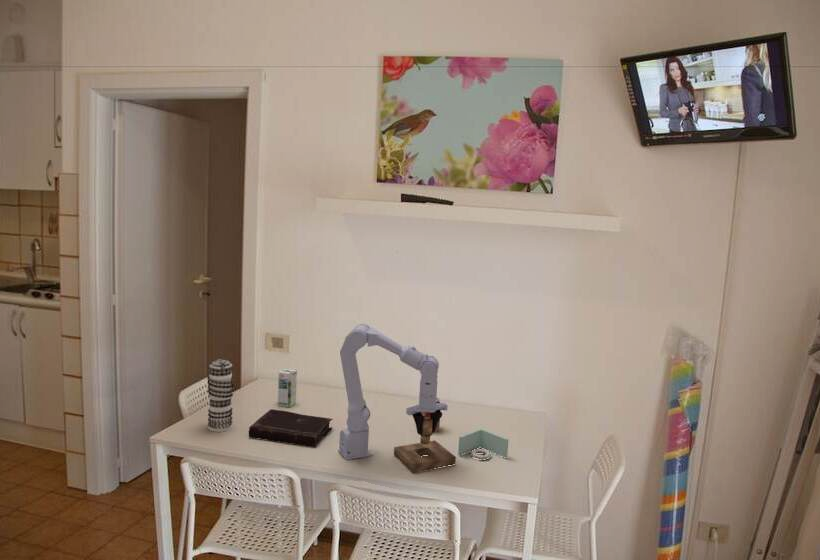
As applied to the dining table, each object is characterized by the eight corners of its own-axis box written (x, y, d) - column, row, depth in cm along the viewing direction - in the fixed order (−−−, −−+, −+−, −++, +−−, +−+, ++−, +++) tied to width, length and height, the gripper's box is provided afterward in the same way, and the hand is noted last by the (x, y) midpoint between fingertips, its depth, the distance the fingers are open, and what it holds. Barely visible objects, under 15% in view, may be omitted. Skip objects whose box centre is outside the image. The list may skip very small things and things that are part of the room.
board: (412, 473, 188) (412, 464, 188) (393, 455, 201) (394, 447, 200) (455, 465, 196) (455, 456, 195) (434, 448, 208) (435, 440, 208)
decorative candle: (205, 424, 219) (205, 358, 215) (230, 420, 223) (231, 356, 219) (209, 433, 210) (209, 365, 207) (235, 429, 215) (236, 363, 211)
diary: (314, 450, 203) (315, 436, 203) (248, 440, 209) (248, 426, 208) (333, 429, 221) (333, 416, 221) (271, 420, 227) (271, 408, 226)
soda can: (418, 426, 227) (419, 396, 226) (435, 424, 230) (436, 395, 228) (425, 433, 221) (426, 402, 219) (442, 431, 223) (444, 401, 222)
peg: (422, 445, 194) (423, 422, 193) (416, 440, 198) (417, 418, 197) (434, 443, 196) (435, 421, 195) (427, 438, 200) (428, 416, 199)
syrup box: (277, 405, 241) (277, 371, 239) (284, 401, 247) (285, 367, 245) (289, 407, 239) (290, 373, 237) (296, 403, 245) (297, 369, 243)
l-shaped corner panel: (457, 457, 203) (459, 436, 202) (479, 448, 212) (481, 428, 211) (485, 469, 195) (486, 448, 194) (506, 459, 203) (508, 439, 202)
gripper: (414, 400, 188) (411, 440, 190) (453, 395, 195) (450, 434, 197) (404, 393, 194) (402, 432, 196) (442, 388, 201) (440, 426, 203)
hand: (425, 432), depth 197 cm, fingers closed on peg, 4 cm apart
